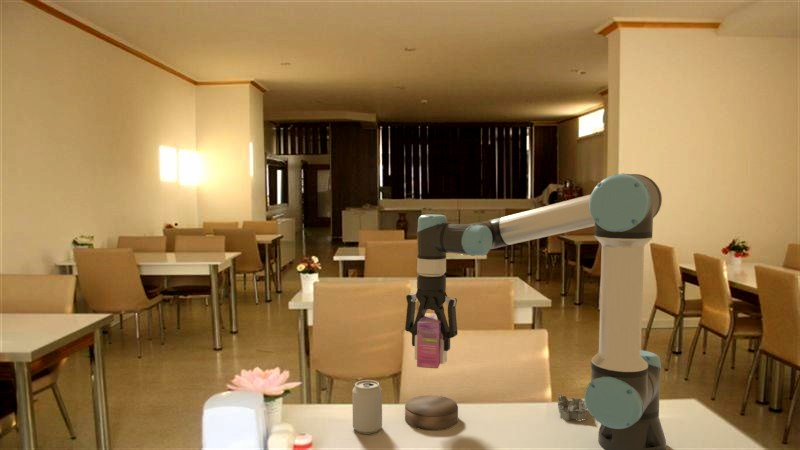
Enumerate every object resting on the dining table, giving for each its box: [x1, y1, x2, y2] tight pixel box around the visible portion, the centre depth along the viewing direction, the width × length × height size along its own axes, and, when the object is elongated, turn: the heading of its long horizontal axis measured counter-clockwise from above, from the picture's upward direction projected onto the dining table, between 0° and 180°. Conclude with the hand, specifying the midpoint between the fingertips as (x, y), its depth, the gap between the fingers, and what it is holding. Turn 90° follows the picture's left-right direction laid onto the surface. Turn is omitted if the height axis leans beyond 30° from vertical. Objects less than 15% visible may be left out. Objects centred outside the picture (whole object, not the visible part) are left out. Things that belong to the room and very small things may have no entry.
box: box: [416, 312, 443, 369], centre depth 159 cm, size 10×6×12 cm, turn 168°
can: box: [351, 379, 383, 435], centre depth 154 cm, size 8×8×12 cm
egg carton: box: [557, 392, 588, 421], centre depth 164 cm, size 11×8×4 cm
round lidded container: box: [404, 394, 459, 432], centre depth 160 cm, size 14×14×4 cm
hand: (430, 360), depth 159 cm, fingers closed on box, 7 cm apart
